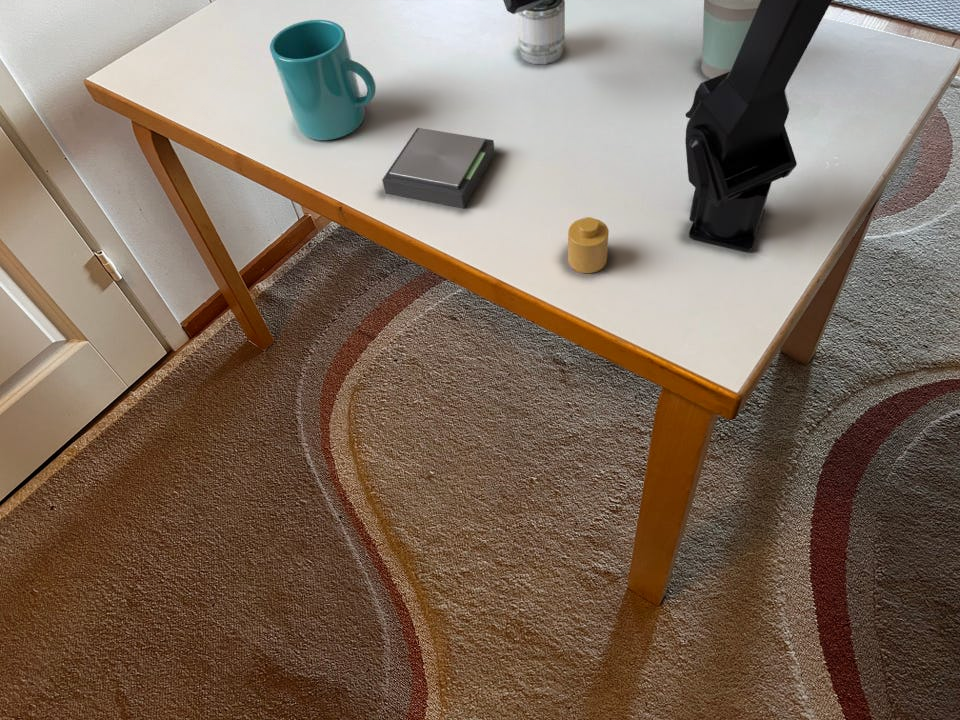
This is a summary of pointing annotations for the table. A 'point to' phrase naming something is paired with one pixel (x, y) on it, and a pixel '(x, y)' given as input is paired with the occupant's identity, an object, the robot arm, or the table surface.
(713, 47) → the coffee cup
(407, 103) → the table surface
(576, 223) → the brass weight
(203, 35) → the table surface
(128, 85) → the table surface
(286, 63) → the cup
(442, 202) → the scale
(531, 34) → the camera lens
